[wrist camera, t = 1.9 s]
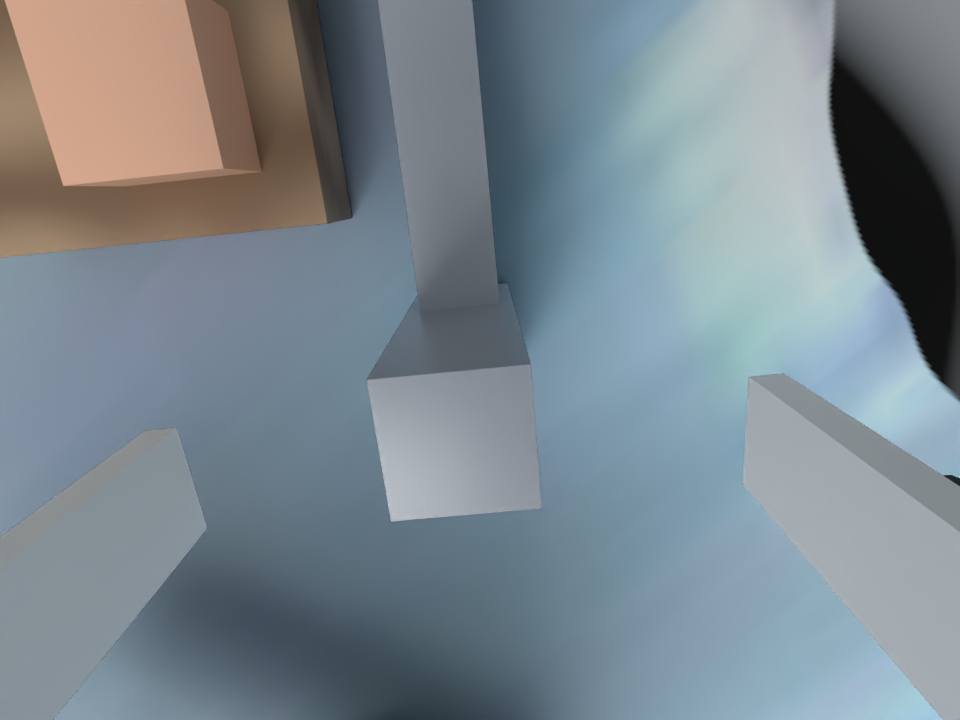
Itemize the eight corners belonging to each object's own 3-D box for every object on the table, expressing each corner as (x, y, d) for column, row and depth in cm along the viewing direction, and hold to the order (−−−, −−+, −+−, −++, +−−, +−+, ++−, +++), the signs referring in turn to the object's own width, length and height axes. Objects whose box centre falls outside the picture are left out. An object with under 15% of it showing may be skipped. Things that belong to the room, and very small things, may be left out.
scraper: (514, 366, 26) (541, 508, 14) (430, 374, 26) (390, 521, 14) (458, -298, 18) (420, -1090, 7) (342, -282, 19) (121, -1037, 7)
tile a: (261, 171, 19) (223, 168, 16) (124, 186, 19) (63, 185, 17) (228, 11, 18) (179, -23, 15) (80, 28, 18) (3, -3, 15)
